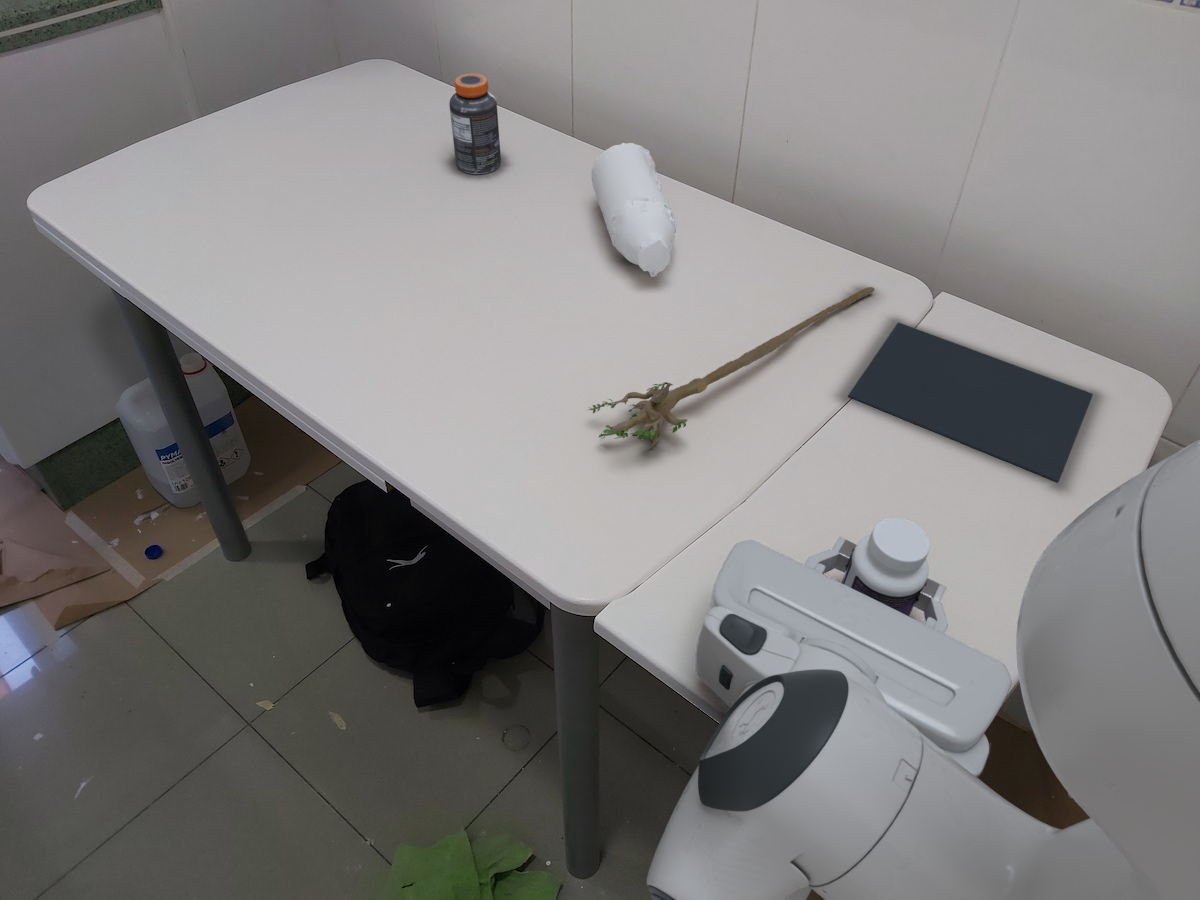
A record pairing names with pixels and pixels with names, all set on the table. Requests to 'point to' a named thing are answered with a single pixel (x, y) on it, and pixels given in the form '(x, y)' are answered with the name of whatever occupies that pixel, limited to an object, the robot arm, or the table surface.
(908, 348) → the mat
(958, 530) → the table surface
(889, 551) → the pill bottle
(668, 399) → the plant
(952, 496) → the table surface
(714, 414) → the table surface
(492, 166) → the pill bottle
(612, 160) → the white bottle
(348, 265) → the table surface
